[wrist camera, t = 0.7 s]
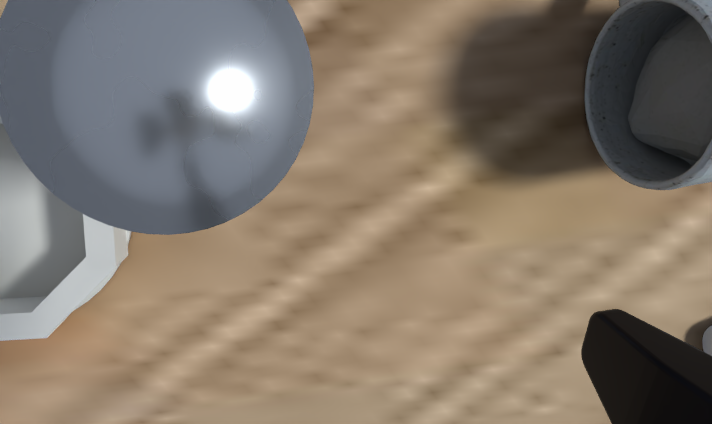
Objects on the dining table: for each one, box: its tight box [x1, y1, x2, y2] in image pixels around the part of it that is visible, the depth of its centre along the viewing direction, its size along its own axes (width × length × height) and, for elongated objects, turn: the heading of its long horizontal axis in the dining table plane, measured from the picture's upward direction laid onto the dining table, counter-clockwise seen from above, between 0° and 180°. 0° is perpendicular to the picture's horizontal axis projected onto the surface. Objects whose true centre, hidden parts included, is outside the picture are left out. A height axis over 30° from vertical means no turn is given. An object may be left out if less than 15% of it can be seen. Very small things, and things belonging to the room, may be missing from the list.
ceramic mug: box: [585, 0, 712, 190], centre depth 22 cm, size 11×8×8 cm
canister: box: [0, 0, 314, 235], centre depth 16 cm, size 5×5×13 cm
